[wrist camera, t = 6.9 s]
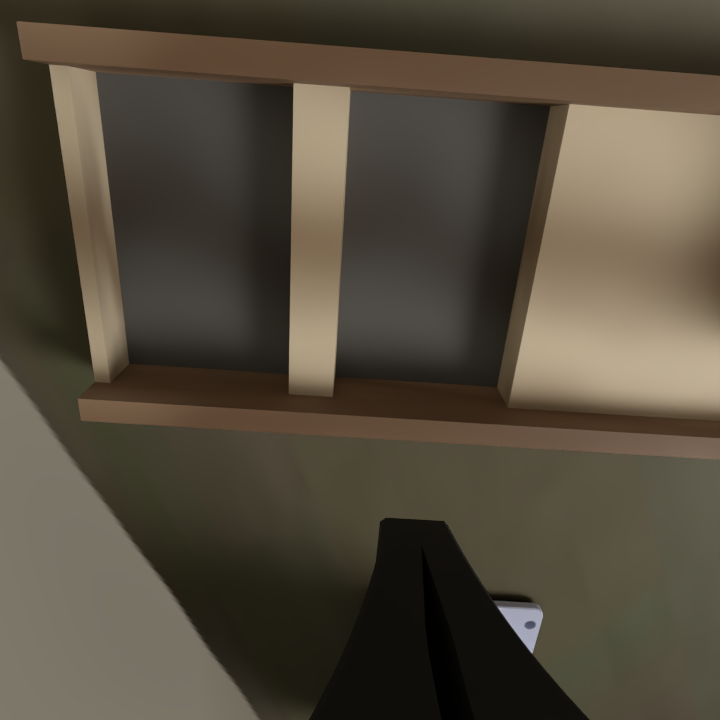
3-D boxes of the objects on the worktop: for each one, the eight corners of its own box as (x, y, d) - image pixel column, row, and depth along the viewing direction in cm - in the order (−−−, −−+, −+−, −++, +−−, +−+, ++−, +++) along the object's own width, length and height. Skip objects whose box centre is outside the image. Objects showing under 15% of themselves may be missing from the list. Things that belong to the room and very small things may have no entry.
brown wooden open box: (898, 426, 21) (1031, 500, 17) (122, 378, 20) (60, 442, 16) (1067, 116, 16) (1305, 113, 12) (80, 40, 16) (-20, 9, 12)
